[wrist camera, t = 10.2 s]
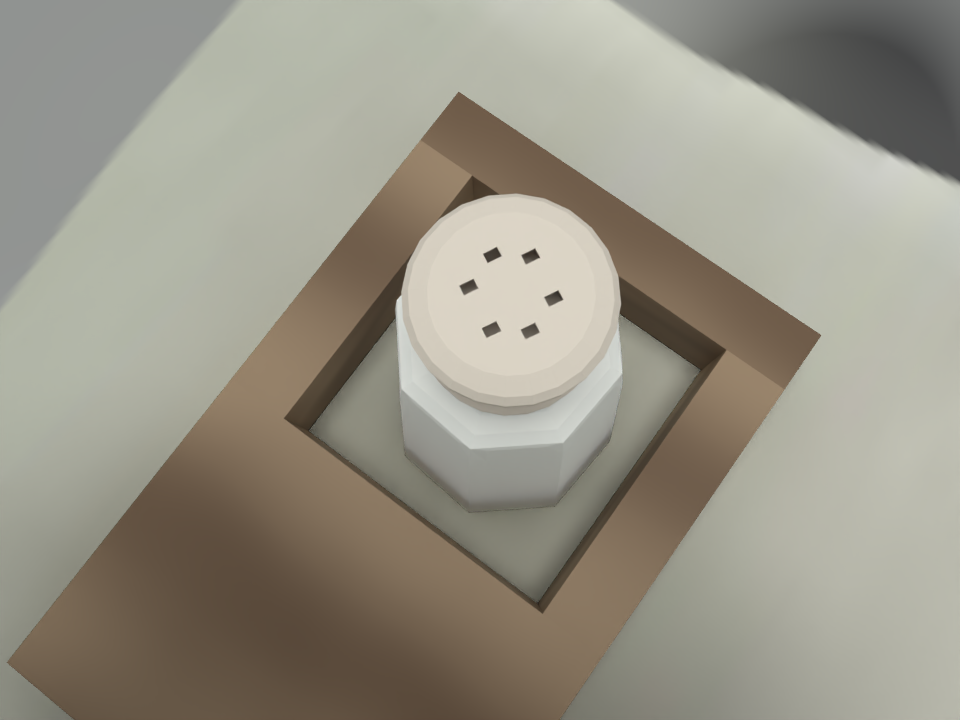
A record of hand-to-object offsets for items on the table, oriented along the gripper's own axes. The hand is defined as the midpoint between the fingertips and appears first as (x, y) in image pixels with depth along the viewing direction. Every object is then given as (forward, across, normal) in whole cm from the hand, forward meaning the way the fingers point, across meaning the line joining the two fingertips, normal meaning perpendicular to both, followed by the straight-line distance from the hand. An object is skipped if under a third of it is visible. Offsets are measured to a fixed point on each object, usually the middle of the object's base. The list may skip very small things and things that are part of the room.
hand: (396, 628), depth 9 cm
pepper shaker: (+12, 0, +6) cm, 13 cm away
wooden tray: (+10, +1, +8) cm, 13 cm away
